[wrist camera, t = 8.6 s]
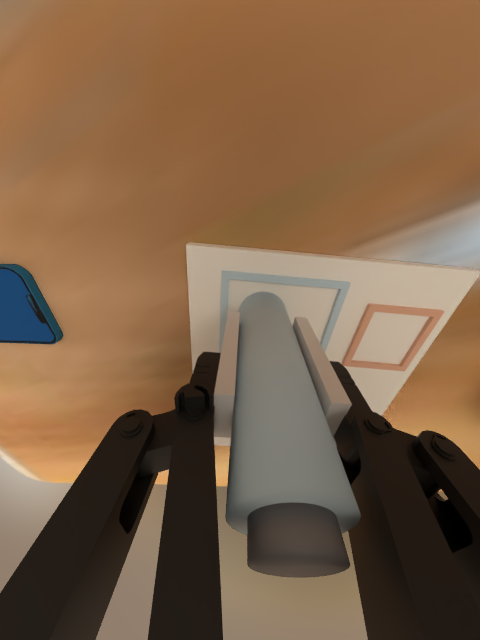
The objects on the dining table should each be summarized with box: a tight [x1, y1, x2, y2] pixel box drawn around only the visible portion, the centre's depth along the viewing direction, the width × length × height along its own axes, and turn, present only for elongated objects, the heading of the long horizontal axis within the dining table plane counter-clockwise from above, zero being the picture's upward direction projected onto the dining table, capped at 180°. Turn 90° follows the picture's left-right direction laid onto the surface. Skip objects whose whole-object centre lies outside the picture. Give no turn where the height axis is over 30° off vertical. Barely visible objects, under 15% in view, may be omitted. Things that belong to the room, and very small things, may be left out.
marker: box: [226, 291, 361, 577], centre depth 10 cm, size 4×4×13 cm
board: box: [186, 242, 480, 448], centre depth 19 cm, size 24×20×4 cm
